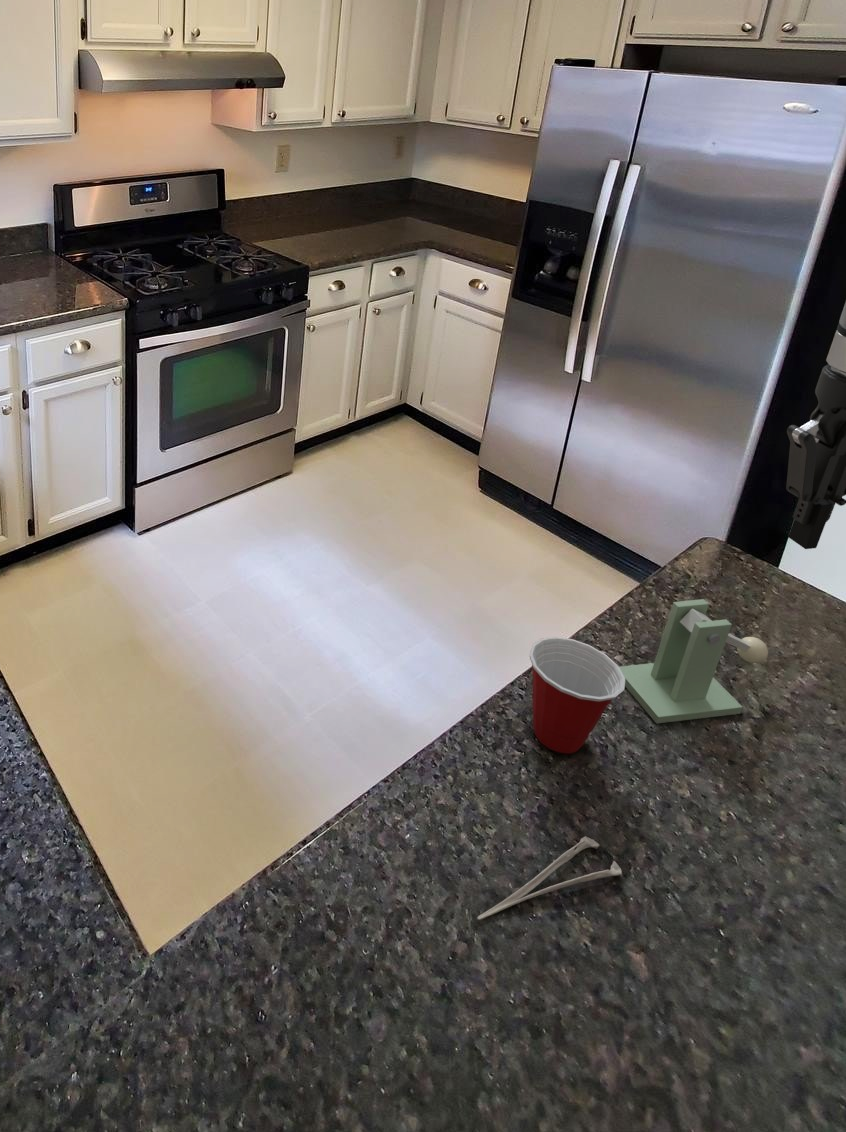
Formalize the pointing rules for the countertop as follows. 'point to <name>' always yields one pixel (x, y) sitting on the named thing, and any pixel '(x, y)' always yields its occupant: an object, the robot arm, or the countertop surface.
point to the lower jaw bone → (565, 857)
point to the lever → (732, 639)
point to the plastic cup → (570, 691)
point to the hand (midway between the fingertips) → (801, 542)
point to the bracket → (684, 670)
